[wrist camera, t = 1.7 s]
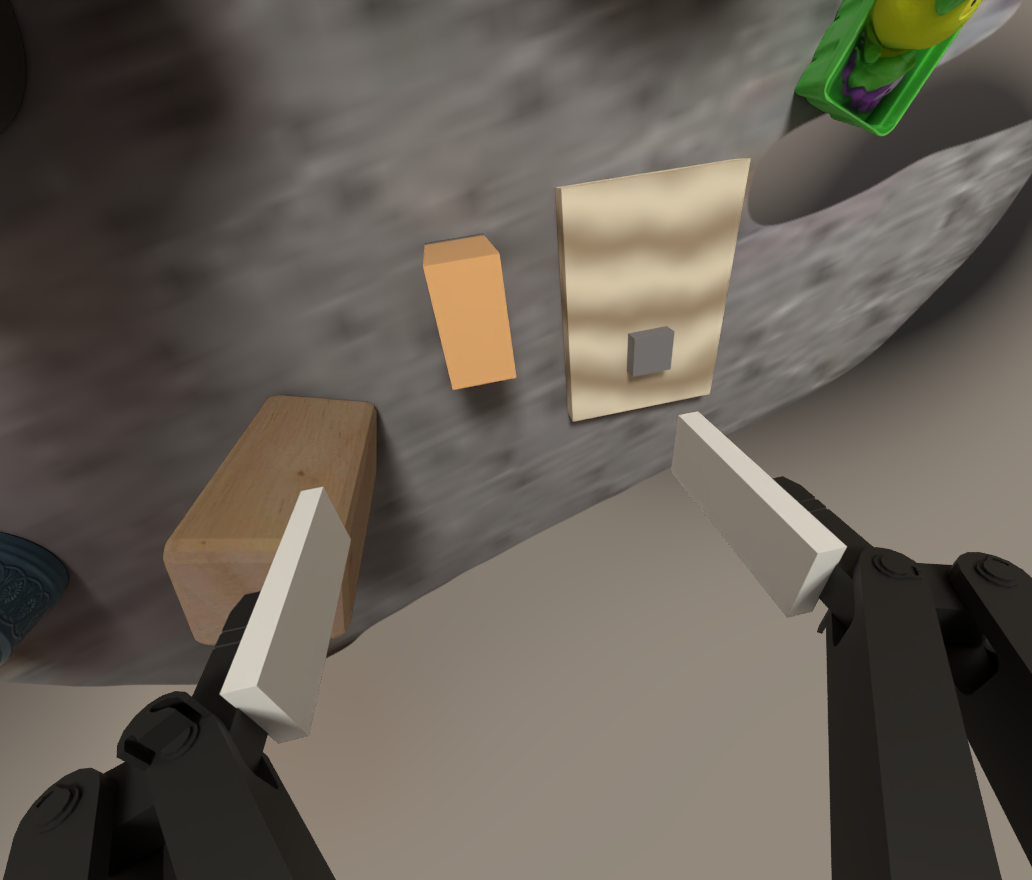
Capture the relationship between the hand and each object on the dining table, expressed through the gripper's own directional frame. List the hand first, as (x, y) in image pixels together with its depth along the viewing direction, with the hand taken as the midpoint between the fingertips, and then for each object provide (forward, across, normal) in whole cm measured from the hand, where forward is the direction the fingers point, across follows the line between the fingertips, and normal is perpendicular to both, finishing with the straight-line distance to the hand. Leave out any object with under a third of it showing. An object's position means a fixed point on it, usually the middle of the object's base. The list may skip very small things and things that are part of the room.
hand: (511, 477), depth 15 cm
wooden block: (+27, -17, -12) cm, 34 cm away
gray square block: (+25, +17, -8) cm, 31 cm away
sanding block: (+27, 0, 0) cm, 27 cm away
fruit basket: (+27, +33, +14) cm, 45 cm away
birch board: (+27, +17, -4) cm, 32 cm away
